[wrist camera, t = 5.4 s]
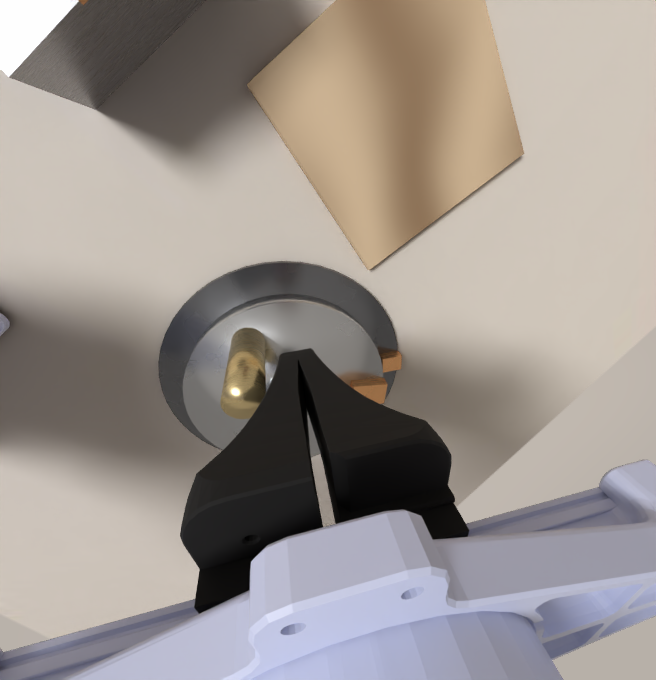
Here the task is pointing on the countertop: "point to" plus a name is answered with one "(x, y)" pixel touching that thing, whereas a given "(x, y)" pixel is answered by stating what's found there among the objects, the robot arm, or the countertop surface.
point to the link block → (84, 42)
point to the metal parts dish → (260, 284)
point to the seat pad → (392, 113)
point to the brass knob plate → (272, 359)
